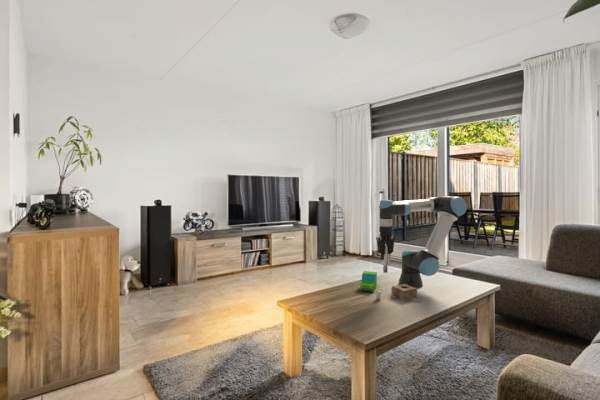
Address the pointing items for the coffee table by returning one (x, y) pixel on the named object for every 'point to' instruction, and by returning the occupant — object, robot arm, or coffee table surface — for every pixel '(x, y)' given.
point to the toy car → (368, 281)
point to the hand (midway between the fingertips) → (385, 264)
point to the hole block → (404, 292)
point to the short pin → (378, 295)
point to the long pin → (386, 260)
